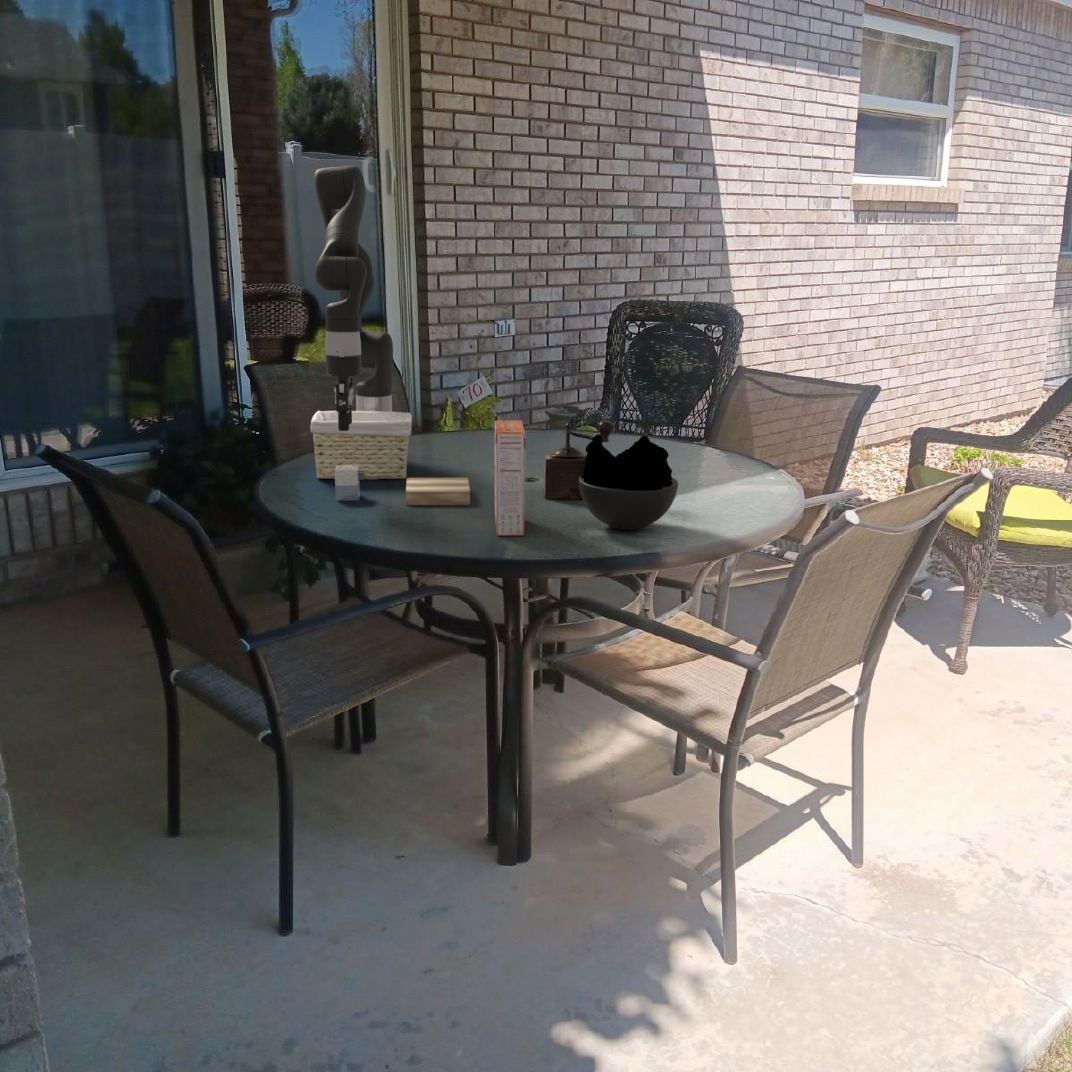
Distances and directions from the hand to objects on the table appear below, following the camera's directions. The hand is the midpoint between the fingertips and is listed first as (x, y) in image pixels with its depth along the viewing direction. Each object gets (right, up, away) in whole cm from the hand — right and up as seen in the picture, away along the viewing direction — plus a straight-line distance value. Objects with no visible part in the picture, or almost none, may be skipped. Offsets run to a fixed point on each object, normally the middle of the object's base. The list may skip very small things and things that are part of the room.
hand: (345, 427), depth 224 cm
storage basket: (-1, -9, +29) cm, 30 cm away
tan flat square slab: (+20, -15, +6) cm, 26 cm away
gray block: (0, -15, +4) cm, 16 cm away
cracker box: (+36, -22, -17) cm, 46 cm away
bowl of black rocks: (+60, -22, -15) cm, 66 cm away
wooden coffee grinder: (+51, -15, +12) cm, 55 cm away
